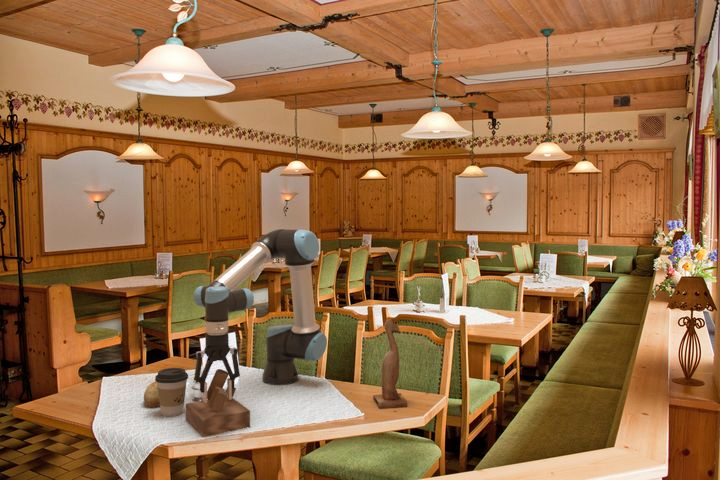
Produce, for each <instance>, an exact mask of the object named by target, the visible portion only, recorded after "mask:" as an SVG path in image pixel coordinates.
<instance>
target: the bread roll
mask: <svg viewBox="0 0 720 480" xmlns="http://www.w3.org/2000/svg"><path fill="white" fill-rule="evenodd" d="M143 402H144V404H145V405H146V406H147V407H149V408H157V407H160V401H159V394H158V387H157V382H156V381H155V380H154V381H153V382H151V383H150V384H149V385H148V386H147V387H146V389H145V391H144V394H143Z"/></svg>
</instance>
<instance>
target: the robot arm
mask: <svg viewBox="0 0 720 480" xmlns="http://www.w3.org/2000/svg"><path fill="white" fill-rule="evenodd" d="M319 252H320V244H319V240H318V238H317V236H316V234H315V233H314V232H312V231H310V230H307V229H289V228H288V229H285V228H278V229H274V230H271V231H269V232H268V233H266V234H264V235H263V236H261V237H259V238H258V239H257V240H256V241H255V242H253V243H252V244H251V247H250V249H249V250H248V251H246V253H244V254H243V255H242V256H241V257H240V258H239V259H238V260H237V261H235V262H234V263H232V265H230V266H229V267H228V268H227V269H226V270H225V271H223V272H222V273H221V274H220V275H219V276H218V277H217V278H215V279H214V280H213V281H212V282H210V283H209V284H208V285H200V286H198V287H196V289H194V292H193V301H194V303H195V304H196V305H197V306H198V307H203V308H204V309H205V310H204V311H205V313H204V314H205V315H204V316H205V320H204V321H205V333H206V334H205V346H204V347H205V348H204V350H201V351H199V350H198V351H196V352H195V356H196V364H195V368H194V369H195V371H194V381H195V383H199V391H200V393H201V394H202V401H204V402H205V403H207V400H208V399H207V391H208V383H207V381H206V380H207V378H208V375H209V372H210V369H211V367H212V365H213V363H214V362H217V361H222V363H223V365H224V367H225V369H226V370H225V371H226V372H227V373H228V377H229V378H228V377H227V379H226V382H227V383H226V384H227V385H226V389H227V392H228V395H227V397H228V398H229V400H230V399H232V398H233V397H232V389H234V388H235V380H236V379H237V378H240V376H241V374H240V373H241V372H240V367H239V361H238V360H239V359H238V351H239V349H237V347H235V346H234V347H230V345H229V333H228V332H229V314H231V313H235V312H236V313H237V312H241V311H245V310H248V309H250V308H251V307H253V305H254V301H255V297H254V294H253V292H252V290H250V289H249V288H242V287H240V288H238V287H239V286H241V284H242V283H244V281H245V280H247V279H248V278H249V277H250V276H251V275H252V274H254V272H255V271H257V270H258V269H259V268H260V267H261V266H262V265H264V264H267V263H269V262H271V260H274V259H278V258H279V259H284V264H285V266H286V267H287V268H289V269H288V270H289V276H290V277H289V278H290V287H291V289H290V290H291V296H292V297H291V299H292V309H293V319H294V320H293V322H294V324H290V323H289V324H280V325H279V324H278V325H273V326H270V327H267V328H268V329H267V331H266V337H265V339H266V340H265V341H266V363H265V366H264V369H263V373H262V378H261V381H263V383H265V384H269V385H279V386H280V385H289V384H294V383H296V382H298V380H299V371H298V369H297V365H296V361H295V359H297V360H303V361H306V362H307V361H308V362H309V361H311V362H317V361H318V360H320V359H321V358H322V357H323V355H324V354H325V353H326V350H327V344H328V339H327V336H326V334H325V333H323V332H321V326H320V325H319V324H318V323H317V321H316V312H315V311H316V310H315V301H314V297H315V296H314V289H313V278H312V277H313V276H312V265H314V263H315V259H316V258H317V257H318V255H319ZM229 353H230V355H231V359H232V366H233V370H232V367H231V365H230V363H229V361H228V358H227V356H228V355H229ZM205 355H206V356H207V359H206V362H205V365H204V368H203V370H202V363H203V359H204V356H205ZM201 371H202V372H201ZM233 372H234V373H233Z"/></svg>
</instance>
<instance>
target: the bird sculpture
mask: <svg viewBox="0 0 720 480" xmlns="http://www.w3.org/2000/svg"><path fill="white" fill-rule="evenodd" d="M384 330H385V333H386V335H387V339H388V343H389V351H387V352H386V353H385V355H384V357H383V359H382V367H381V394H373V395H372V400H376V401H377V405H378V409H380V408H381V409H387V408H388V409H390V408H393V409H395V408H404V407H405V408H407V406H408V400H407V399H406V398H405V397H404V396H403V394H402V393H401V392H398V390H397V388H396V385H397V383H398V381H399V377H400V353H399V347H398V345H397V342H396V340H395V336H394V333H399V334H400V332H401V331H400V327H399V326H398V325H397V324H396V323H394V322H393V320H392V319H391V318H389V319H387V320H386V321H385V322H384Z"/></svg>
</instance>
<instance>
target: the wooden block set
mask: <svg viewBox="0 0 720 480" xmlns="http://www.w3.org/2000/svg"><path fill="white" fill-rule="evenodd" d="M228 377H229V375H228V372H227V370H224V369H222V368H221V369H220V368H218V369H216V370H215V373H214V375H213V377H212V379H211V382H210V384H209V387H207V400H210V401H209V403H208V404H209V405H212V407H211V409H213V410H215V411H218V412H220V411H221V409H222V407H223V404H224V402H225V400H226V397H227V395H228V392H227V388H226V389H224V385H225V383H226V382H227V378H228ZM236 391H237V388H236V387H234V389H232V398H234V395H235V393H236Z"/></svg>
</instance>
